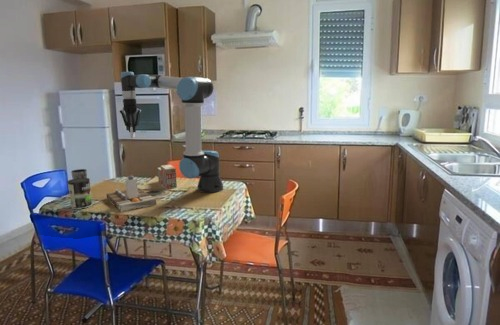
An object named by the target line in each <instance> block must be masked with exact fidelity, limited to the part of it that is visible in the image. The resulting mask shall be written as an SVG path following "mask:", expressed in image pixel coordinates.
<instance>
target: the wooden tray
mask: <svg viewBox="0 0 500 325" xmlns="http://www.w3.org/2000/svg"><path fill="white" fill-rule="evenodd" d="M137 188H138V197H137V198H138V199H139V200H140V201H137V202H132V200H133V199H134V198H132V199H128V198H127V191H126V189H125V190H119V189H117V188H116V189H115V191H114V192H109V193H106V200H107V201H109V202H110V201H111V202H112V203H113V204H114V205H115V206H116V207H115V206H114V205H113V204H112V203H111V202H110V203H111V204H112V205H113V206H114V207H115V208H117V210H119V211H120V212H121V211H123V212H127V211H126V210H128V211H131V209H133V210H137V209H136V208H138V209H141V207H143V208H147V207H151V206H156V205H157V199H156V198H155V197H154V196H152V195H151V194H149V193H147V192H146V191H144V190H142V189H141V188H140V187H137Z"/></svg>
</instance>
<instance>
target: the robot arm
mask: <svg viewBox="0 0 500 325" xmlns="http://www.w3.org/2000/svg"><path fill="white" fill-rule="evenodd" d="M120 81H121V82H120V83H121V84H120V86H121V91H122V92H121V93H122V104H123V107H122V109H121V110H119V113H120V114H121V118H122V120H123V123H124V125H125V127H128V132H129V133H130V138H131V139H134V138H136V132H137V130H136V128H137V127H138V126H139V123H140V117H141V112H142V109H139V108H138V106H137V99H136V97H137V95H136V94H137V93H136V89H147V88H150V89H151V88H152V89H156V88H157V89H165V90H172V91H176V94H177V96H178V97H179V99H180V100H181V104H182V105H183V106H184V128H185V129H184V131H185V136H184V137H185V150H184V151H183V155H182V159H181V160H180V161H179V164H178V167H179V168H178V169H179V171H180V174H182V176H184V177H185V178H186V179H195V178H199V179H198V182H197V191H198V192H200V193H217V192H220V191H222V190H223V189H224V184H223V181H222V178H221V176H220V172H221V171H220V154H219V151H216V150H202V146H203V145H202V144H203V143H202V106H203V105H204V103H205V102H204V101H205V100H204V99H207V98H210V97H211V95H213V93H214V83H213V81H212V80H211V79H210V78H208V77H205V76H186V77H180V76H179V77H177V76H167V75H162V74H144V73H141V74H135V73H134V72H133V71H121V72H120Z"/></svg>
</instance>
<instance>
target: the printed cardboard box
mask: <svg viewBox="0 0 500 325" xmlns="http://www.w3.org/2000/svg"><path fill="white" fill-rule="evenodd" d="M156 170H157V176H158V182H159V183H160V184H161V185H162V186H163V187H164V188H165V189H176V188H177V187H178V186H177V184H178V182H177V168H176V167H174V166H173V165H172V164H163V165H160V167H157V168H156Z"/></svg>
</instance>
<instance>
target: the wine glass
mask: <svg viewBox="0 0 500 325" xmlns="http://www.w3.org/2000/svg"><path fill="white" fill-rule="evenodd" d="M70 173H71V178H72V179H77V178H88V171H87V169H86V168H79V169H74V170H71V172H70Z"/></svg>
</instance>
